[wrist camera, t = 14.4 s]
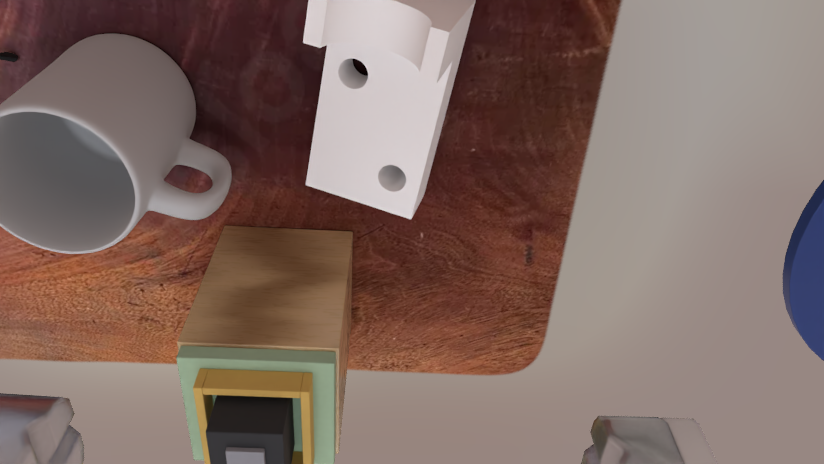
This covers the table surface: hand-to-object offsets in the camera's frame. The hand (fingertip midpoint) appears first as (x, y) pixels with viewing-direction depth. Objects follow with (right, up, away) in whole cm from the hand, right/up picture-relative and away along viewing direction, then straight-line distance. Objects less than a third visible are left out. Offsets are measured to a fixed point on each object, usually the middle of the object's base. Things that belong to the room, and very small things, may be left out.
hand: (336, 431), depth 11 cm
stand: (-8, 0, +40) cm, 41 cm away
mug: (-15, +11, +32) cm, 37 cm away
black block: (-8, -7, +29) cm, 31 cm away
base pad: (-8, -7, +30) cm, 31 cm away
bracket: (-1, +12, +32) cm, 34 cm away
